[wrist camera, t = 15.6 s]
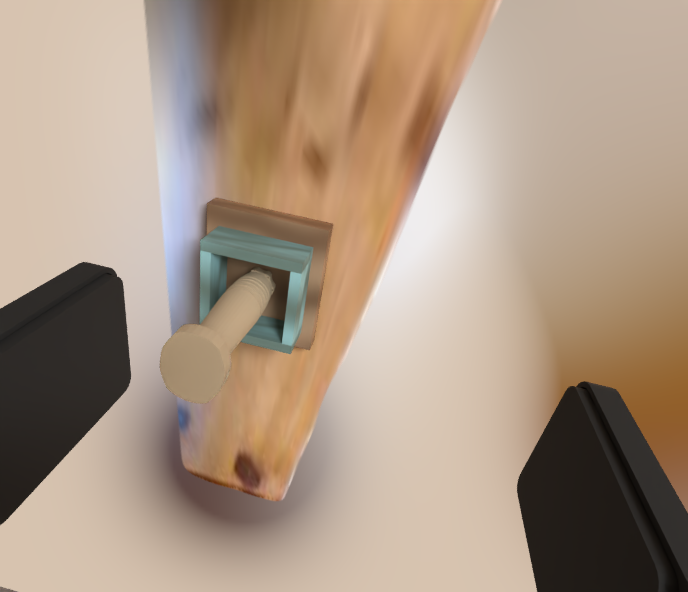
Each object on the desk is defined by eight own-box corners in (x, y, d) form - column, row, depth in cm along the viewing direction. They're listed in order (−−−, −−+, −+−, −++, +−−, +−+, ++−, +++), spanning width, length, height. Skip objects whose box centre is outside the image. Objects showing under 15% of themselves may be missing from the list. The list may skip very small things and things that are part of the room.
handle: (233, 297, 47) (155, 389, 34) (245, 244, 43) (165, 322, 30) (276, 313, 47) (215, 411, 34) (291, 262, 43) (231, 347, 30)
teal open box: (216, 197, 44) (187, 216, 39) (333, 224, 43) (319, 246, 38) (212, 315, 51) (187, 344, 45) (313, 340, 50) (300, 372, 45)
